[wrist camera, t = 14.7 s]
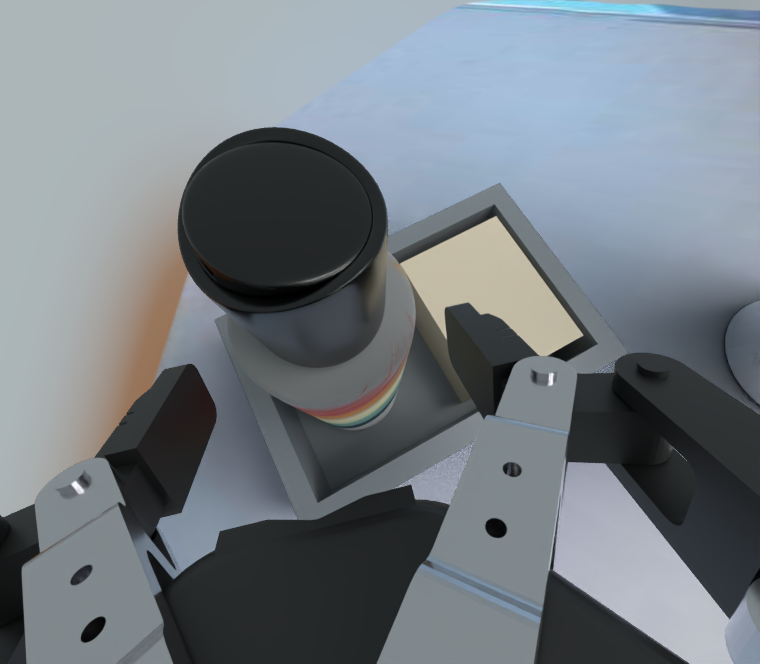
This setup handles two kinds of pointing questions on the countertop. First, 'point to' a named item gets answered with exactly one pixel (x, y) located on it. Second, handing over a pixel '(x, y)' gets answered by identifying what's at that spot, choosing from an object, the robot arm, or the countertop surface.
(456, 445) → the tote
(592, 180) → the countertop surface
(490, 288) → the plain beige carton
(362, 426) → the lotion bottle
